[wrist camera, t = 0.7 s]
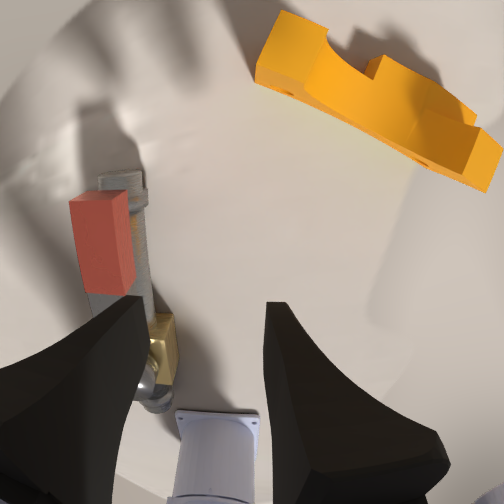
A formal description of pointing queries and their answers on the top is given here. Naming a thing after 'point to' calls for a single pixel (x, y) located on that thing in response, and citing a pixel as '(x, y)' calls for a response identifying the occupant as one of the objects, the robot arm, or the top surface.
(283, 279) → the top surface
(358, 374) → the top surface
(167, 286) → the top surface
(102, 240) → the lever
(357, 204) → the top surface
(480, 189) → the pipe clamp
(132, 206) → the cylinder
